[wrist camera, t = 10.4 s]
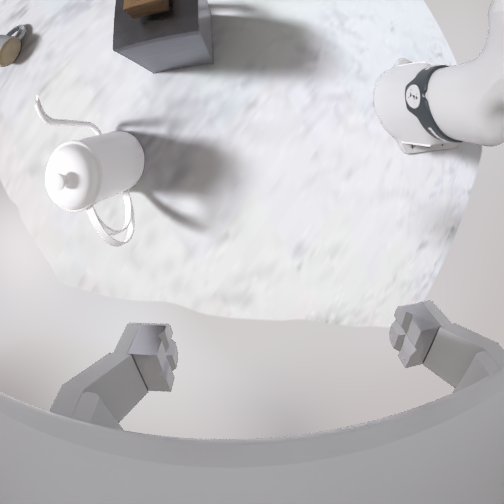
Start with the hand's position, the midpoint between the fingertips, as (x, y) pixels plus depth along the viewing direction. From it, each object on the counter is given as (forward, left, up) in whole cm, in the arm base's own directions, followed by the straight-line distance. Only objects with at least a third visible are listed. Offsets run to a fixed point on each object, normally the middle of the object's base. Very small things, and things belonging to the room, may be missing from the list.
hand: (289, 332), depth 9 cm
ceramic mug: (+51, -39, -39) cm, 75 cm away
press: (+10, -26, -39) cm, 47 cm away
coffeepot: (+23, -5, -39) cm, 45 cm away
